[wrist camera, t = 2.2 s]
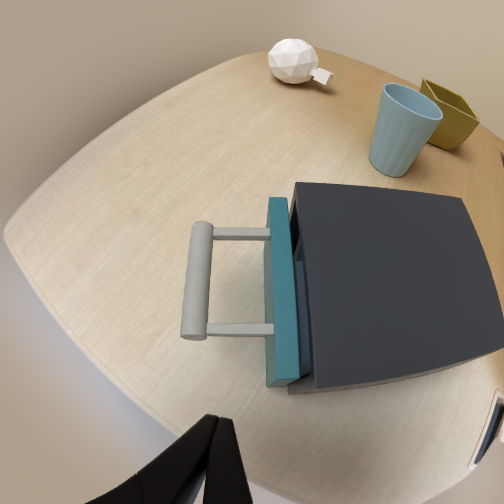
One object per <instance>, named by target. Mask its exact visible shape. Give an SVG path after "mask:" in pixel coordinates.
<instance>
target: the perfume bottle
mask: <svg viewBox="0 0 504 504" xmlns="http://www.w3.org/2000/svg"><path fill="white" fill-rule="evenodd" d="M318 60H319V59H318V57H317V54H316V52H315V50H314V48H313V47H312V46H310V45H309V44H307V43H306V42H304V41H303V40H299V39H285V40H283V41H280V42H278V43H276V45H275V46H274V47H273V48H272V49H271V50H270V51H269V53H268V61H269V68H270V70H271V72H272V74H273V76H275V77H277V78H278V79H280V80H281V81H283V82H285V83H292V84H299V83H302V82H306V81H309V80H310V79H311V77H312V76H315V77H314V80H316V81H318V82H320V83H322V84H324V85H329V84H330V82H331V80H332V78H333V76H334V74H333V73H331V72H328V71H326V70H324V69H321V68H318V70H317V67H318Z"/></svg>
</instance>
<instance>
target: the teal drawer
mask: <svg viewBox="0 0 504 504" xmlns="http://www.w3.org/2000/svg"><path fill="white" fill-rule="evenodd" d="M213 239H214V240H260V241H265V243H264V289H265V323H262V324H247V323H208V306H209V290H210V275H211V261H212V248H213ZM293 261H294V268H293ZM294 273H295V280H294ZM295 286H296V294H295ZM296 300H297V309H296ZM297 315H298V325H297ZM298 332H299V343H298ZM207 335H208V336H227V337H266V387H282V386H284V385H287V384H289V383H291V382H293V381H295V380H297V379H299V378H300V373H301V376H308V375H310V374H311V366H310V348H309V332H308V318H307V305H306V293H305V282H304V271H303V261H302V251H301V242H300V236H299V240H298V243H297V247H296V250H295V254H294V257H293V255H292V244H291V233H290V223H289V213H288V203H287V198H286V197H269V204H268V214H267V224H266V228H214V227H213V225H212V224H210V223H208V222H205V221H199V222H196V223H194V224H193V226H192V231H191V238H190V246H189V254H188V262H187V271H186V280H185V289H184V299H183V310H182V322H181V334H180V336H181V337H182V338H184V339H187V340H194V341H201V340H205V339H206V338H207ZM299 350H300V364H299Z"/></svg>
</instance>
